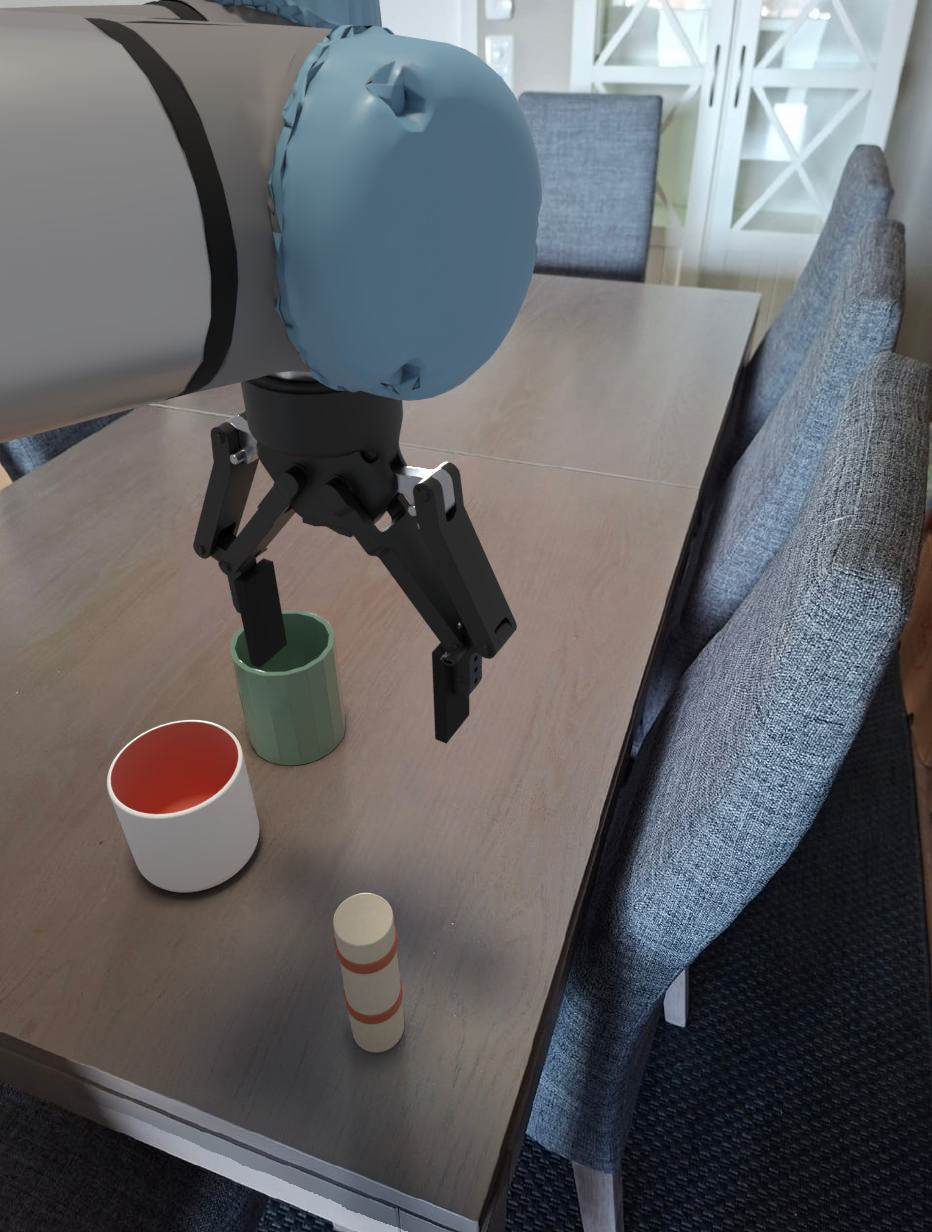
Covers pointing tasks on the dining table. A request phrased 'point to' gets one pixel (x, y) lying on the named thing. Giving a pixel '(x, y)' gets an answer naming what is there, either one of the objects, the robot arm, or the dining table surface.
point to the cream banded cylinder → (370, 970)
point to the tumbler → (292, 692)
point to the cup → (185, 804)
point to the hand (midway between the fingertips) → (356, 689)
